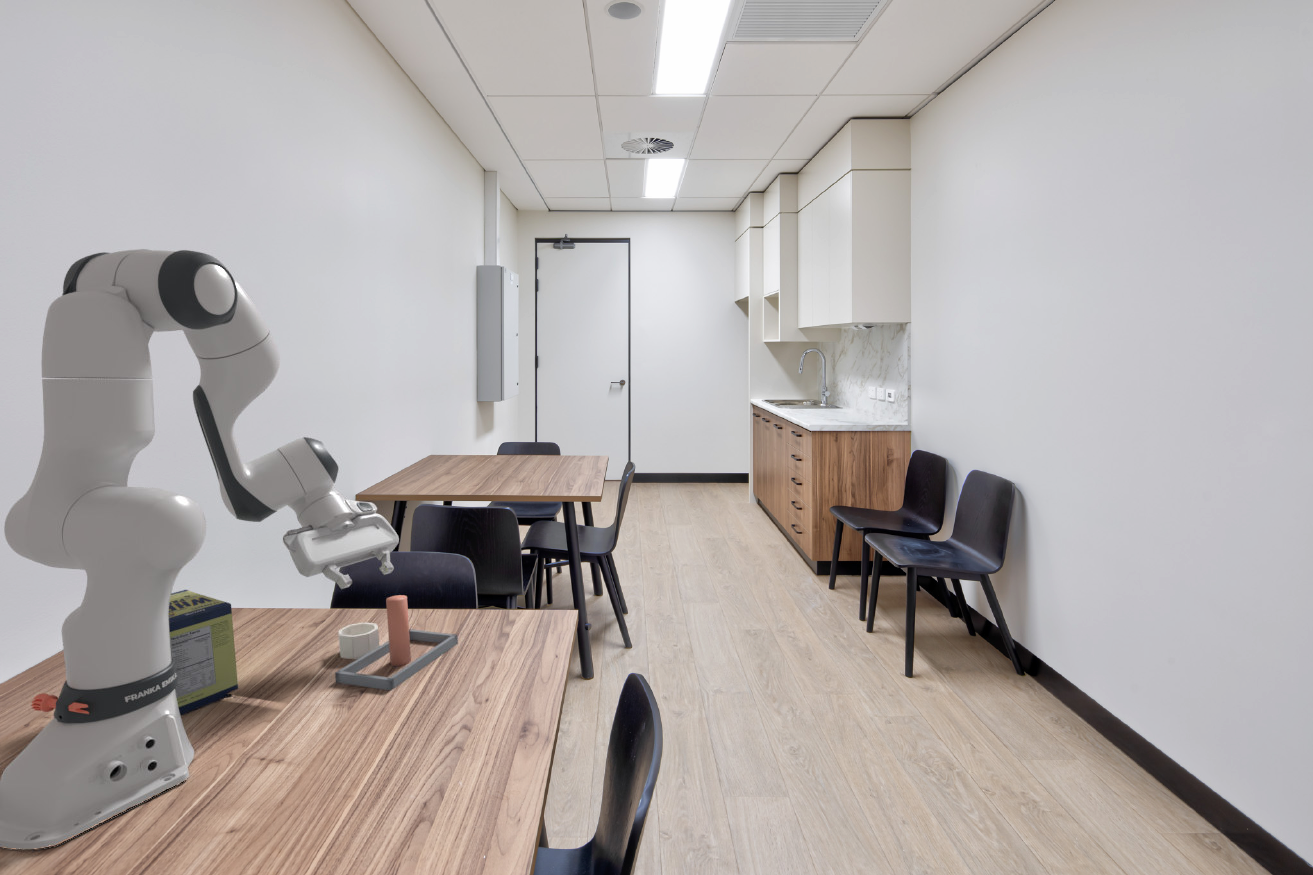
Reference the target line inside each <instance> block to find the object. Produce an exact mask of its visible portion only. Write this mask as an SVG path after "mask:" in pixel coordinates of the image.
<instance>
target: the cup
mask: <svg viewBox="0 0 1313 875" xmlns="http://www.w3.org/2000/svg"><path fill="white" fill-rule="evenodd" d="M338 646H339V648H338V649H339V656H340V658H342V659H348V660H349V659H350V660H357V659H359V658H361V657H362V656H364V655H366V654H367V653H369V652H371V651H373V650H374V649H376V648H378V647H379V646H380V633H379V626H378V623H372V622H359V623H353V624H348V625H346V626H344V627H343V628H340V629H339V630H338Z"/></svg>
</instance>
